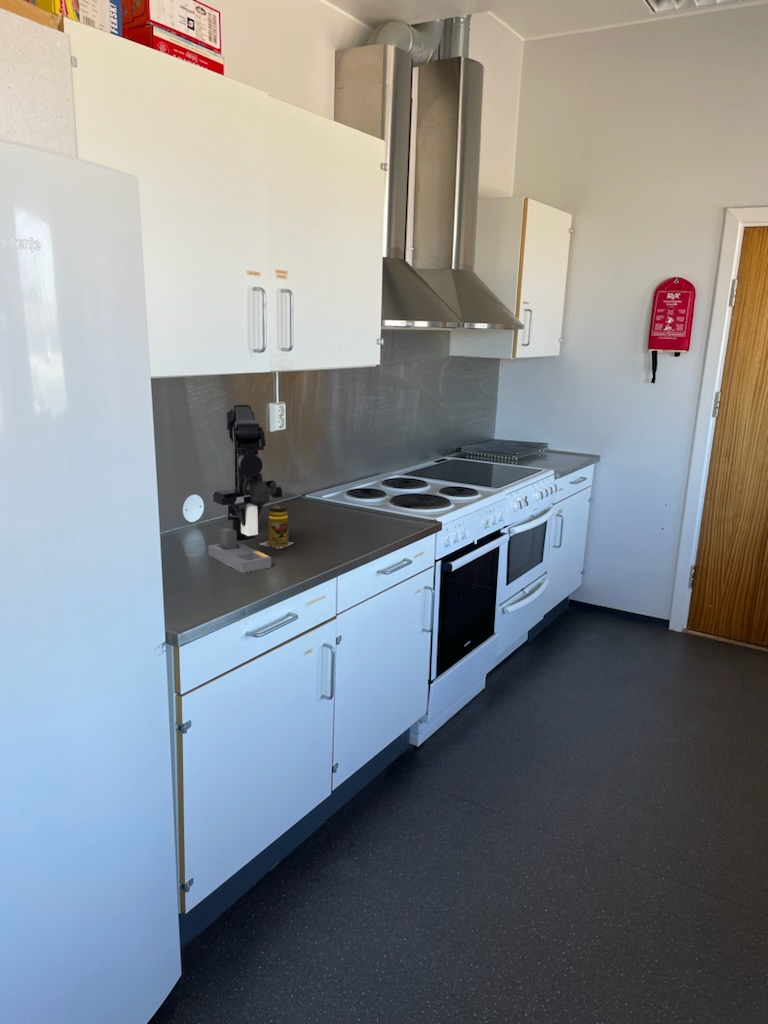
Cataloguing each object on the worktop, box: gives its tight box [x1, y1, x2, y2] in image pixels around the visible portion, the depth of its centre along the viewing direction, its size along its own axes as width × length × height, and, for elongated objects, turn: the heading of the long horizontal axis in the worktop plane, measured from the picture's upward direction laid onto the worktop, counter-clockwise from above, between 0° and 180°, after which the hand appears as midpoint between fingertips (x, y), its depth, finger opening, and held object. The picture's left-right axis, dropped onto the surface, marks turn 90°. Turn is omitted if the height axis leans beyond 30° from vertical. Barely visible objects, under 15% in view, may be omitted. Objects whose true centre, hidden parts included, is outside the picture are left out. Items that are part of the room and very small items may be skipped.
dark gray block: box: [220, 527, 238, 550], centre depth 215 cm, size 4×3×8 cm
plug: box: [241, 503, 259, 536], centre depth 204 cm, size 4×3×8 cm
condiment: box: [259, 504, 294, 550], centre depth 228 cm, size 7×8×12 cm
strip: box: [207, 540, 272, 574], centre depth 211 cm, size 20×9×3 cm, turn 40°
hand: (249, 524), depth 205 cm, fingers closed on plug, 3 cm apart
